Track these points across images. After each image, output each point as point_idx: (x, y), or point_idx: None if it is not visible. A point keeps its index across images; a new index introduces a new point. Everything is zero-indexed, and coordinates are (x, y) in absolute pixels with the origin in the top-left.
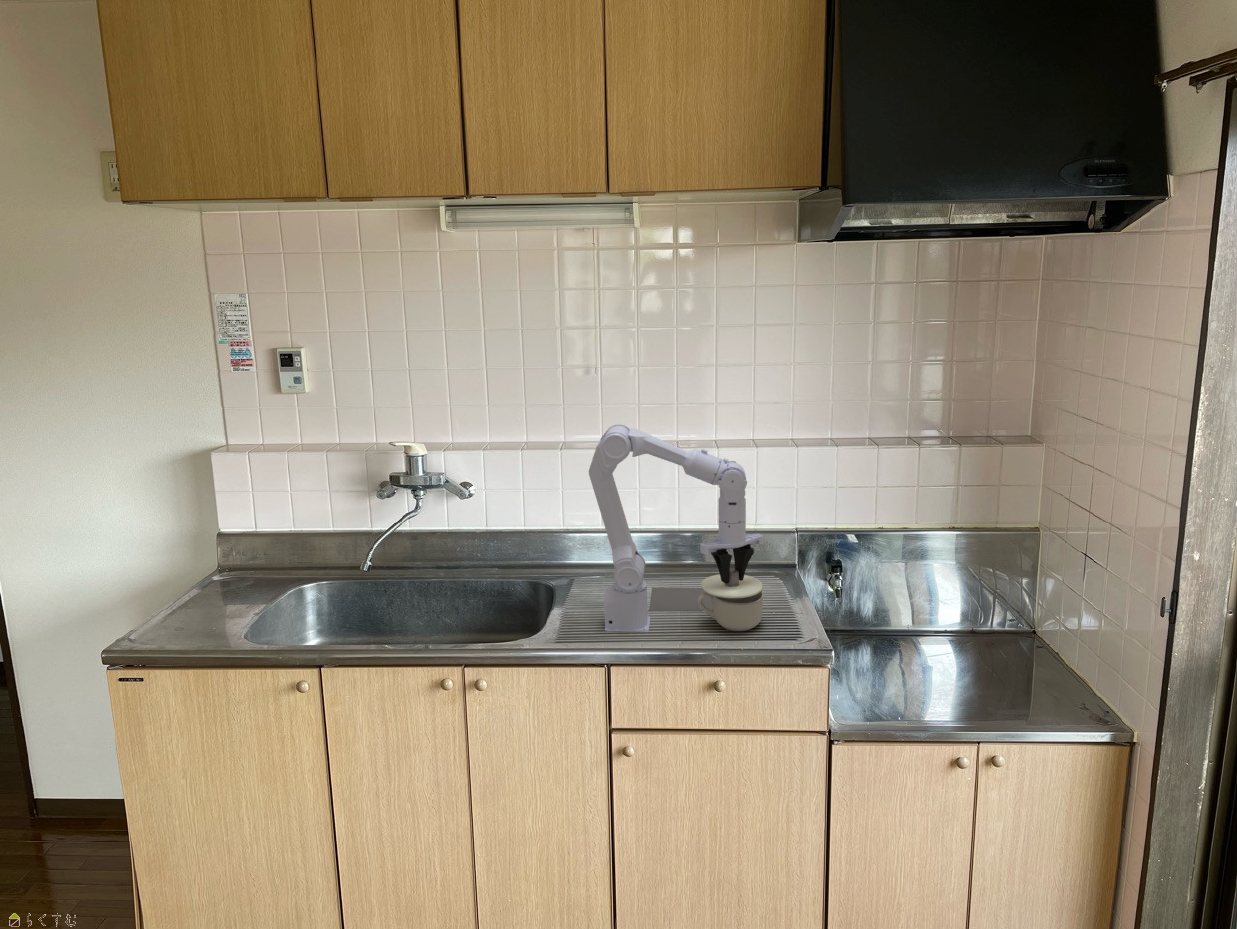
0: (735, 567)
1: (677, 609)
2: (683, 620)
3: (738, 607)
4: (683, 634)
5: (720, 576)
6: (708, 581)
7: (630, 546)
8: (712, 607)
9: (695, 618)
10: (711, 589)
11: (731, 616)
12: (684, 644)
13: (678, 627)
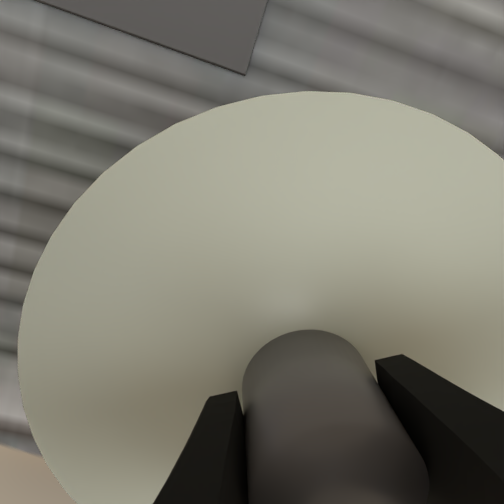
0: (434, 432)
1: None
2: (47, 126)
3: None
4: (19, 294)
5: (196, 426)
6: (106, 272)
7: None
8: (247, 10)
9: (118, 118)
10: (88, 455)
11: None
12: (8, 390)
13: (7, 209)
